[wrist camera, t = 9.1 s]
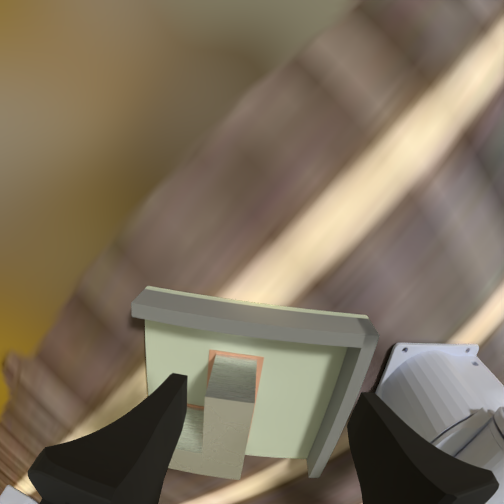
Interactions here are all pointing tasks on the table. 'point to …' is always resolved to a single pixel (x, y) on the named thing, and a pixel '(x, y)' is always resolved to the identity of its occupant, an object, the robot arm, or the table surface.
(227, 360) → the bracket
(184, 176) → the table surface
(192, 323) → the arena
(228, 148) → the table surface
